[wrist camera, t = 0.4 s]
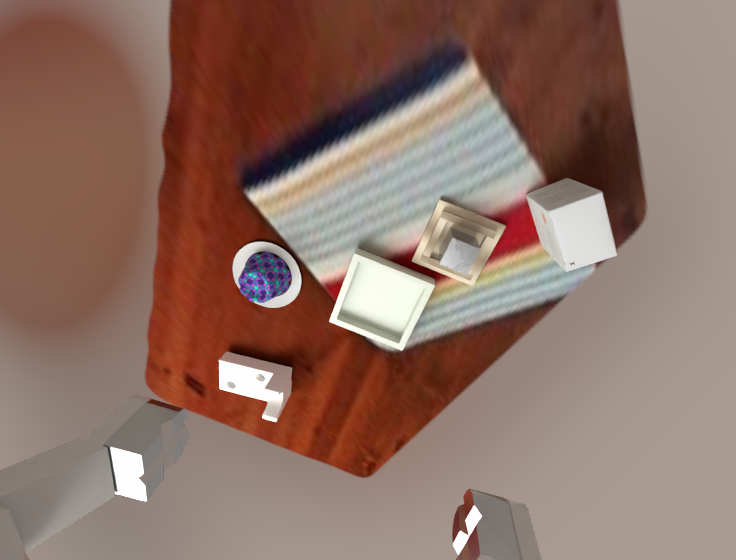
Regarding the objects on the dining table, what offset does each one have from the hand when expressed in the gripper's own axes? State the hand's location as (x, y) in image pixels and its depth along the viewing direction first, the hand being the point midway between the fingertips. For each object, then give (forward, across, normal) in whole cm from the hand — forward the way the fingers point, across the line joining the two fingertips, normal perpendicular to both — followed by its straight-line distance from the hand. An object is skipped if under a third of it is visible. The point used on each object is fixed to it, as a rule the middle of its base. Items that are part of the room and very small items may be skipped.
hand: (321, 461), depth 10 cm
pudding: (+45, +19, +19) cm, 52 cm away
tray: (+44, 0, +18) cm, 48 cm away
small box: (+45, -20, -2) cm, 49 cm away
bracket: (+45, +19, +40) cm, 63 cm away
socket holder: (+44, -9, +6) cm, 46 cm away
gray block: (+44, -9, +6) cm, 45 cm away
